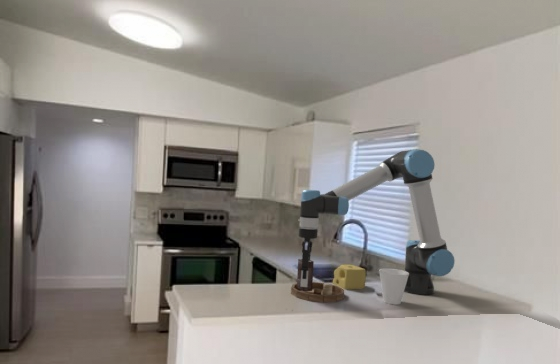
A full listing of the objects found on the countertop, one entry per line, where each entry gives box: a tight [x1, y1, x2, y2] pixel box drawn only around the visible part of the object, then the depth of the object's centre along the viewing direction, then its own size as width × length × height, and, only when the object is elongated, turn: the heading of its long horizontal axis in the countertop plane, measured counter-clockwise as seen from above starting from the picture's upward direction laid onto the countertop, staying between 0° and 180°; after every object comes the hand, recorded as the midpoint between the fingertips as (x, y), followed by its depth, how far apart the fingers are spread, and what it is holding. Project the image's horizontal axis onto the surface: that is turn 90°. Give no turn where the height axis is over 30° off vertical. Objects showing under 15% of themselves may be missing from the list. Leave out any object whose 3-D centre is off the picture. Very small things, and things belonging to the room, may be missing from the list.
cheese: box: [332, 264, 367, 290], centre depth 191 cm, size 10×11×10 cm
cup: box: [378, 268, 409, 306], centre depth 174 cm, size 12×12×12 cm
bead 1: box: [323, 282, 333, 289], centre depth 176 cm, size 4×4×4 cm
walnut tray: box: [290, 281, 345, 303], centre depth 173 cm, size 21×21×4 cm
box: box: [296, 258, 315, 291], centre depth 173 cm, size 6×4×12 cm
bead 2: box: [322, 288, 332, 295], centre depth 168 cm, size 4×4×4 cm
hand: (304, 284), depth 174 cm, fingers closed on box, 7 cm apart
